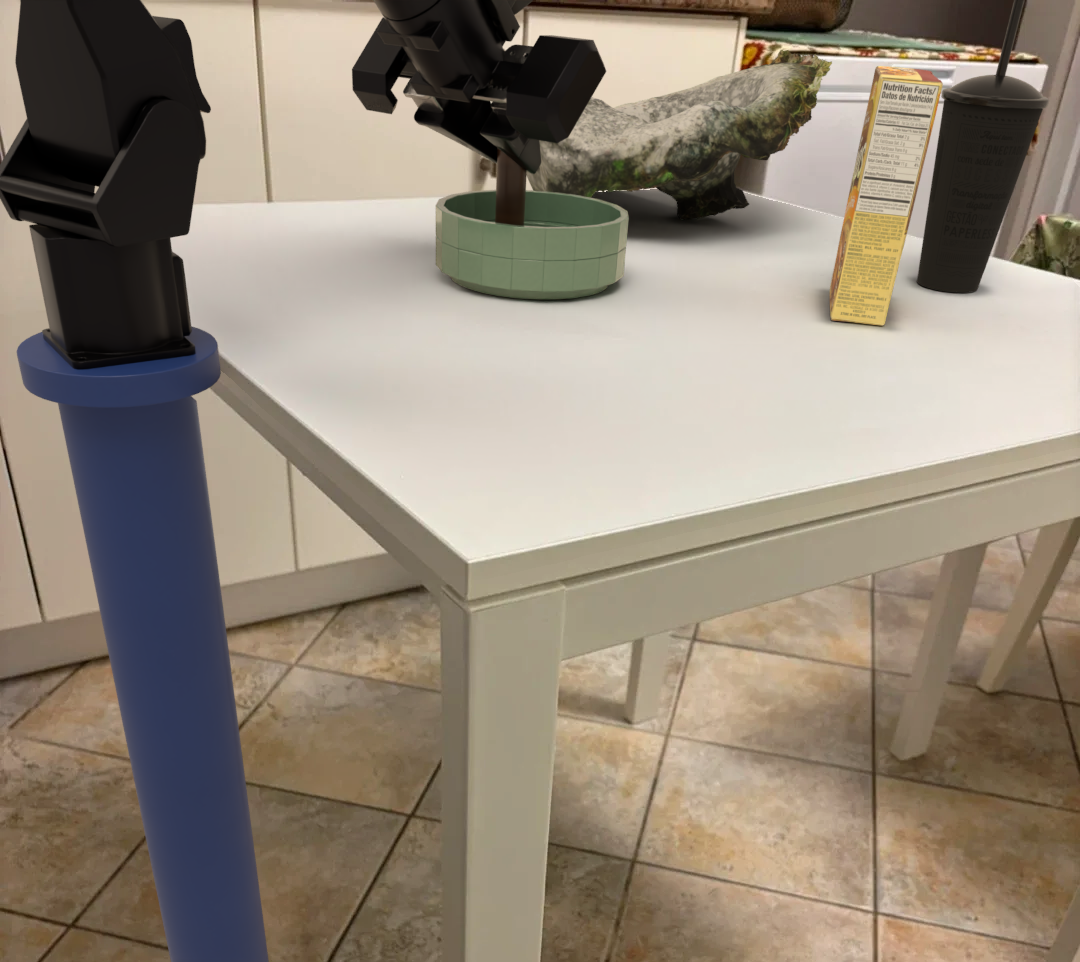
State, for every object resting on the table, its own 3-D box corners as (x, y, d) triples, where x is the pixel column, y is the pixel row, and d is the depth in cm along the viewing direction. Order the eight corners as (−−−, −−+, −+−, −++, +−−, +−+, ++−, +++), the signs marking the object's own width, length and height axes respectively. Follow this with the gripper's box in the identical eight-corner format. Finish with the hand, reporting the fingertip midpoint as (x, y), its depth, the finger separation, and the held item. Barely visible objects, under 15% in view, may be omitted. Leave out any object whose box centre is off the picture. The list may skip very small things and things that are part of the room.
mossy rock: (910, 147, 101) (885, -36, 92) (667, 314, 95) (613, 136, 86) (708, 139, 123) (671, -10, 114) (499, 274, 117) (441, 129, 107)
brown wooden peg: (532, 270, 83) (542, 70, 75) (479, 266, 83) (484, 66, 75) (536, 258, 86) (545, 65, 79) (484, 254, 86) (490, 61, 79)
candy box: (827, 291, 86) (871, 64, 77) (882, 297, 85) (933, 68, 77) (828, 321, 79) (878, 74, 70) (889, 328, 78) (946, 79, 69)
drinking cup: (963, 302, 85) (1045, -6, 74) (880, 280, 90) (945, -14, 78) (1014, 290, 90) (1098, -4, 78) (932, 269, 94) (1000, -11, 83)
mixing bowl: (502, 312, 76) (504, 235, 74) (402, 265, 86) (401, 195, 83) (659, 291, 83) (667, 220, 80) (552, 250, 93) (555, 185, 90)
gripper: (602, -122, 64) (681, 89, 77) (376, -128, 73) (482, 62, 87) (508, 37, 63) (605, 222, 77) (292, 12, 72) (412, 181, 86)
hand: (523, 165), depth 82 cm, fingers closed on brown wooden peg, 2 cm apart
